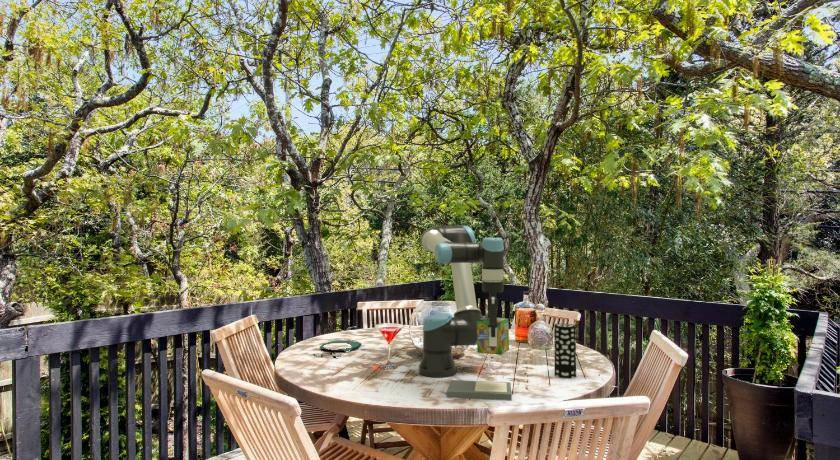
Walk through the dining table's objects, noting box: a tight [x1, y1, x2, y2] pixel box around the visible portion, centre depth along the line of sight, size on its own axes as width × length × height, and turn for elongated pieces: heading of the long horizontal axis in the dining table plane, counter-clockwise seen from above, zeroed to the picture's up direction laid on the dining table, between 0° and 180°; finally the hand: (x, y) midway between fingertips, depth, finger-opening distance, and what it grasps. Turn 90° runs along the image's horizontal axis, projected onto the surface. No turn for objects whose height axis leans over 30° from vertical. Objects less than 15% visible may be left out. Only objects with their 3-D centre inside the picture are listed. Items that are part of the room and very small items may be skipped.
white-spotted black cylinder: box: [553, 322, 577, 379], centre depth 204 cm, size 8×8×20 cm
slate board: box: [446, 379, 513, 401], centre depth 182 cm, size 22×14×2 cm, turn 81°
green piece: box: [319, 340, 362, 358], centre depth 248 cm, size 20×30×2 cm, turn 163°
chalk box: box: [476, 309, 510, 356], centre depth 182 cm, size 9×9×15 cm
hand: (492, 342), depth 182 cm, fingers closed on chalk box, 11 cm apart
